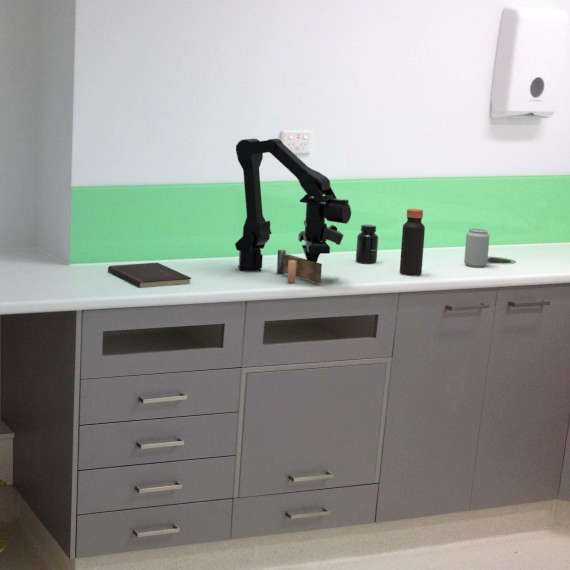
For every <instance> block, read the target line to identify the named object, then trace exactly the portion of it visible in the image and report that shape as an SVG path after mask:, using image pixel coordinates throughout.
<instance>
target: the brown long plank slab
mask: <svg viewBox="0 0 570 570" xmlns="http://www.w3.org/2000/svg"><path fill="white" fill-rule="evenodd" d="M282 258H283V273H285V274H286V275H288V260H296V261H297V265H296V278H300V279H303V280H307V281H309V282H312V283H315V284H319V283H321V282H322V267H323V266H322V263H320V262H318V261H317V262H313V261H310V260H307V259H306V258H302V257H299V256H295V255H292V254H289V253H286V254H283V256H282Z"/></svg>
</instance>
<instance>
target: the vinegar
mask: <svg viewBox="0 0 570 570" xmlns="http://www.w3.org/2000/svg"><path fill="white" fill-rule="evenodd" d="M423 216H424V210H422V209H418V208H407V209H406V219H407V220H406V222H405V223H404V224H403V225H402V231H401V232H402V233H401V247H400V260H399V262H400V263H399V273H400V275H403V276H415V277H417V276H418V277H419V276H421V275H422V271H423V270H422V269H423V259H424V258H423V257H424V246H425V245H424V244H425V235H426V234H425V230H426V226H425V225H424V224H423V223H422V220H423Z"/></svg>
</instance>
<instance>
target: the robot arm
mask: <svg viewBox="0 0 570 570" xmlns="http://www.w3.org/2000/svg"><path fill="white" fill-rule="evenodd" d="M235 152H236V153H235V154H236V158H237V161H238V163H239V166H240V167H241V168H242V171H243V172H242V173H243V184H244V197H245V198H244V199H245V200H244V201H245V210H246V211H245V212H246V218H245V221H244V224H243V228H242V229H243V230H242V236H241V238H239V239H238V240H237V241H236V242H235V243H234V246H235V249H236V251H239V252H238V255H239V257H238V265H237V267H238V270H239V271H240V272H262V268H263V253H262V250H261V249H264V248H265V246H266V244H267V242H268V241H269V240H270V237H271V235H272V231H271V220H266V219H265V217H264V212H263V203H262V201H263V200H262V191H261V190H262V189H261V176H260V167H261V163H262V161H263V157H264V154H267V153H269V154H271V156H272V157H274V158H275V159H276V160H277V161H278V162H279V163H280V164H282V165H283V166H284V167H285V168H286V170H288V171H289V172H290V173H291V174H292V175H293V176H294V177H296V179H297V180H298V182H299V186H300V187H301V189H302V190H304V192H305V193H306V194H304V196H303V197H302V198H300V199H299V202H300V203H302V204H303V203H304V204H305V205H306V206H305V220H303V225H304V230H301V231H300V232H299V233H298V237H297V238H298V239H297V240H298V242H302V243H303V241H304V244H301V248H302V250H303V253H304V257H305V259H306V260H310V261H313V262H317V263H318V260H319V257H320V255H322V254H323V255H324V254H331V253H330V252H331V247H330V245H329V244H328V243H327V241H330V242H332V243H334V244H336V245H339V246H340V245H341V243H342V240H343V238H344V234H343V233H342V232H340V231H339V230H338V226H336V225H334V224H331V225H330V226H328V224H327V223H326V221H327V222H333V223H337V224H344V225H345V224H348V223H349V221H350V220H351V216H352V209H351V205H350V204H349V199H339V198H338V197H337V196H336V194H335V193H334V190H333V188H332V186H331V181H330V179H329V178H328V177H327V176H326V175H324V174H323V173H321V172H319V171H317V170H315V169H313V168H310V167H309V166H308V165H306V163H305V162H304V161H303V160H301V159H300V158H299V157H298V156H297V155H296V154H295V153H294V152H293V151H292V150H290V149H289V148H288V147H287V145H285V144H284V143H283V141H282V140H281V139H279V138H270V139H269V138H268V139H266V140H259V139H258V138H247V139H246V138H244V139H241V140H239V141H238V142H237V144H236V146H235Z"/></svg>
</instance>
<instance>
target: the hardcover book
mask: <svg viewBox="0 0 570 570" xmlns="http://www.w3.org/2000/svg"><path fill="white" fill-rule="evenodd" d="M107 272H108V273H110V274H111V275H113V276H115V277H117V278H119V279H120V280H123V281H125V282H128V283H129V284H131V285H133V286H135V287H137V288H139V289H140V288H152V287H153V288H154V287H164V286H165V287H167V286H177V285H188V284H189V285H190V284H191V283H190V282H191V280H192V277H190V276H188V275H186V274H184V273H181V272H179V271H177V270H174V269H172V268H170V267H168V266H166V265H164V264H162V263H159V262H149V263H148V262H147V263H145V262H144V263H130V264H114V265H108V267H107Z"/></svg>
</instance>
